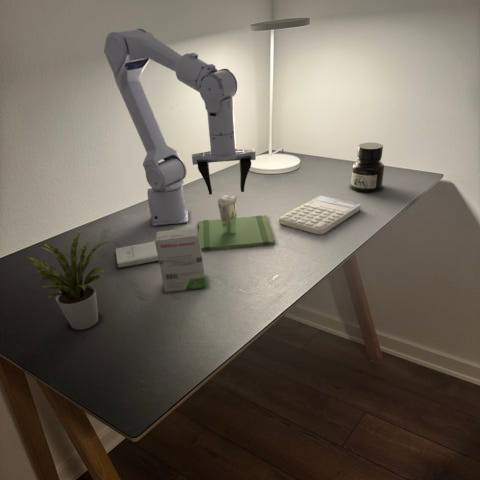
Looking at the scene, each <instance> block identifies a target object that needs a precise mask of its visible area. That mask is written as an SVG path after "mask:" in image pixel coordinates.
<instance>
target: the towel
mask: <svg viewBox="0 0 480 480" xmlns="http://www.w3.org/2000/svg"><path fill="white" fill-rule="evenodd" d="M198 231H199V238H200V245H201V252H203V251H213V250H214V251H215V250H227V249H237V248H238V249H239V248H249V247H261V246H271V245H272V246H273V245H275V242H276V241H275V238H274V236H273V232H272V229H271V226H270V223H269V219H268V216H267V215H266V214H265V215H261V214H260V215H254V216H243V217H236V233H235V234H232V235H226V234H224V233H223V229H222V223H221V218H220V219H204V220H199V221H198Z"/></svg>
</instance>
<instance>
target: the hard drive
mask: <svg viewBox="0 0 480 480" xmlns="http://www.w3.org/2000/svg"><path fill="white" fill-rule="evenodd" d="M115 255H116V264H117V267H118V269H121V268H128V267H133V266H138V265H143V264H148V263H153V262H159V259H158V254H157V249H156V244H155V240H154V241H148V242H143V243H139V244H132V245H127V246H122V247H116V248H115Z"/></svg>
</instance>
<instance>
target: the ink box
mask: <svg viewBox="0 0 480 480" xmlns="http://www.w3.org/2000/svg"><path fill="white" fill-rule="evenodd" d="M154 241H155V244H156V249H157V254H158V259H159V261H158V264H159V269H160V273H161V279H162V284H163V289H164V292H165V293H171V292H179V291H188V290H197V289H204V288H207V282H206V274H205V273H206V272H205V267H204V260H203V251H201V245H200V238H199V227H197V226H196V227H188V228H180V229H179V228H178V229H170V230H168V229H167V230H160V231H156V232H155V237H154Z"/></svg>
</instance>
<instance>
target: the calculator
mask: <svg viewBox="0 0 480 480" xmlns="http://www.w3.org/2000/svg"><path fill="white" fill-rule="evenodd" d="M361 206H362V205H361V204H360V203H359V202H355V201H351V200H347V199H342V198H336V197H332V196H328V195H324V194H323V195H322V194H321V195H317V196H315V197H314V198H312V199H310V200H308V201H306V202H305V203H303V204H301V205H299V206H298V207H295V208H294V209H292V210H290V211H288V212H287V213H285V214H283V215H281V216H280V217H279V218H278V222H279V224H280V225H283V226H287V227H290V228H294V229H298V230H301V231H304V232H308V233H311V234H314V235H315V234H316V235H319V236H321V235H324V234H325V233H328V232H329V231H330V230H332V229H333V228H335V227H337V226H338V225H340V224H341V223H343V222H344V221H345V220H347V219H349V218H350V217H352V216H353V215H355V214H356V213H358V212H359V211H360V210H361Z"/></svg>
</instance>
